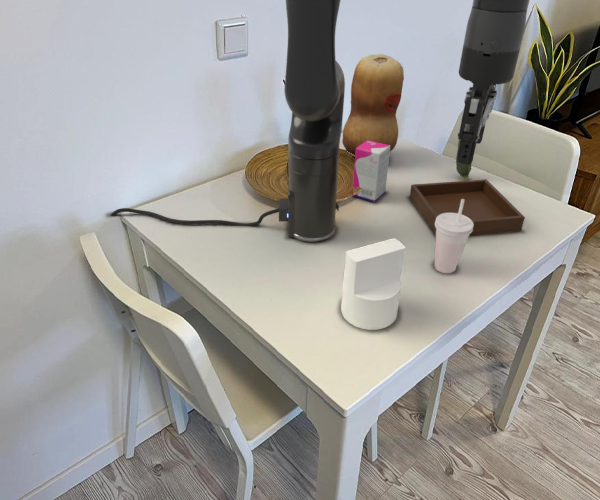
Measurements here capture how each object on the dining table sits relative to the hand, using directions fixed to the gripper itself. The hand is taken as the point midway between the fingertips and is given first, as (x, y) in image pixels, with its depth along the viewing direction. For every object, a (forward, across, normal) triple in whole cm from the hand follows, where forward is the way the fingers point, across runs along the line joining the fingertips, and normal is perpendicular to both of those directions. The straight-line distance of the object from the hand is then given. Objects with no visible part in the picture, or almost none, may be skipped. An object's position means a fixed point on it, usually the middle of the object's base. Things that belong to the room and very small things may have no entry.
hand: (469, 152), depth 80 cm
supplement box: (+22, -20, -22) cm, 37 cm away
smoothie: (+23, 0, 0) cm, 23 cm away
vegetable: (+23, -38, -4) cm, 44 cm away
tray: (+22, -20, -1) cm, 30 cm away
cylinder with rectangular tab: (+22, +17, -9) cm, 30 cm away
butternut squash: (+22, -38, -28) cm, 52 cm away
